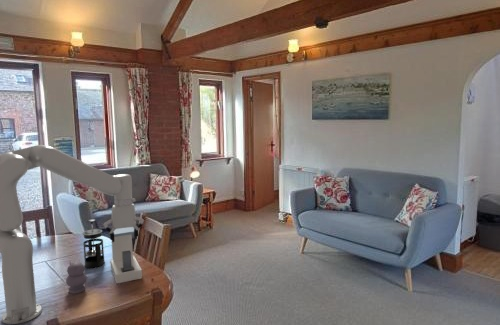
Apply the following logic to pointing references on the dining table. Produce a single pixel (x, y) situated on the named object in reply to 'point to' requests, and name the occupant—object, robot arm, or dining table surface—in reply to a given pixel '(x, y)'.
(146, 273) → the dining table surface
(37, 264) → the dining table surface
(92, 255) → the french press
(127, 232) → the white dispenser with tray
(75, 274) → the cat figurine
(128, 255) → the peg
